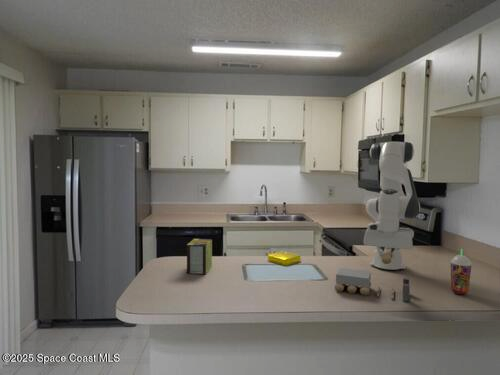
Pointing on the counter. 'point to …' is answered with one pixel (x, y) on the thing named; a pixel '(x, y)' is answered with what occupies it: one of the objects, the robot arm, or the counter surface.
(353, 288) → the roller bed
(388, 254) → the roller
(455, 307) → the counter surface
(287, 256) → the element tile
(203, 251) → the protein box
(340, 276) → the slab
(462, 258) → the smoothie
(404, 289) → the posts
